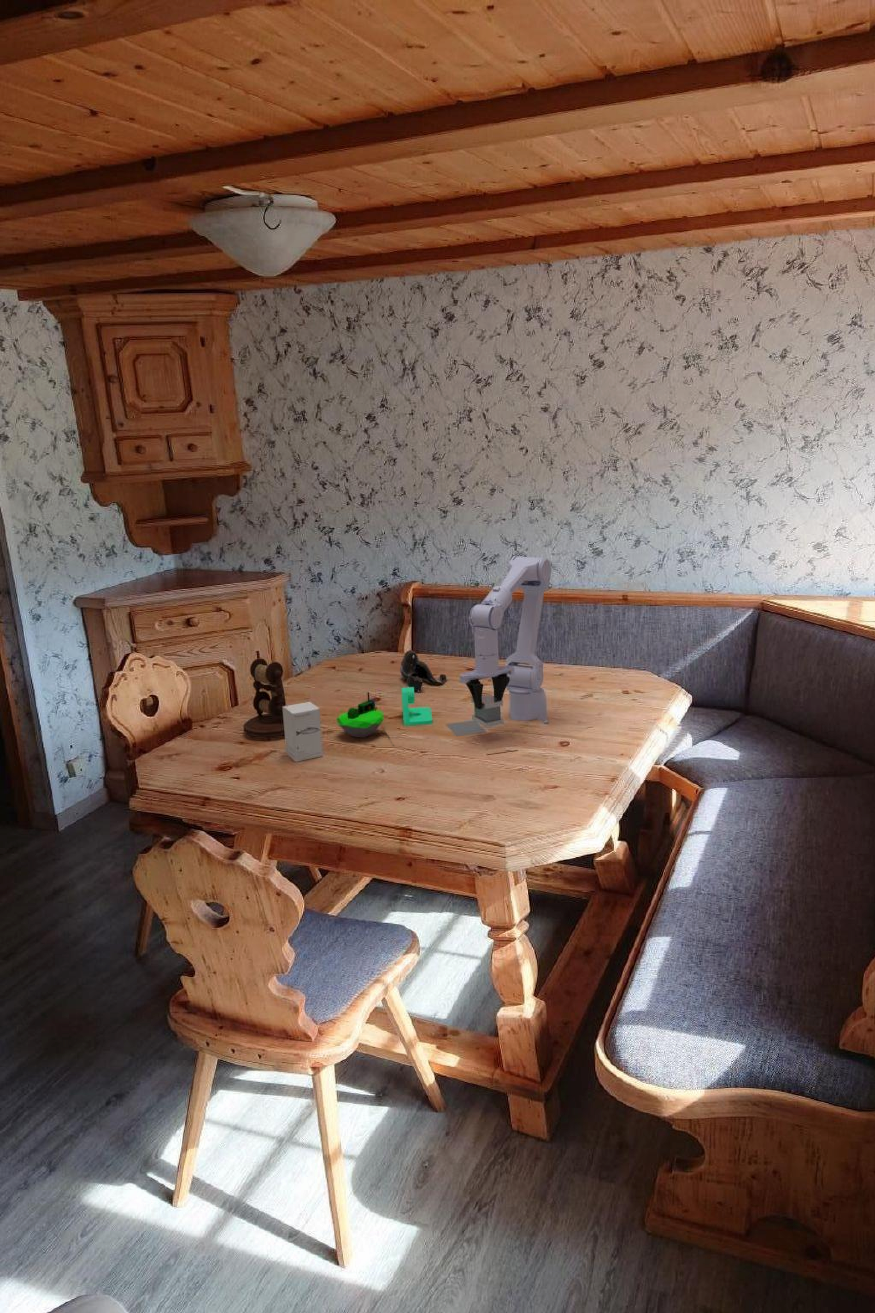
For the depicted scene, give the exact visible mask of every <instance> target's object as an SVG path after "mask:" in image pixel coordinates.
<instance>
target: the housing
mask: <svg viewBox="0 0 875 1313" xmlns="http://www.w3.org/2000/svg"><path fill="white" fill-rule="evenodd" d="M470 700H471V703H472V704H473V705H474V706H473V707H474V708H473V709H474V714H472V715H471V721H475V722H477V723H478V724H479V725H480V726H481V727H485V728H491V727H494V726H499V725H504V720H505V719H504V718H502V716H501V714H502V713H501V707H502V706H504V700H503V699H502V700H500V699H498V698H496V697H494V695H492V694H490V693H484V694H482V709H477V708H475V704H474V700H473V697H472V696H471V699H470Z"/></svg>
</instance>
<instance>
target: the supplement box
mask: <svg viewBox="0 0 875 1313" xmlns="http://www.w3.org/2000/svg"><path fill="white" fill-rule="evenodd" d="M282 708H283V720H284V731H285V734H284V743H285V753H286V755H287V756H289V757H290V759H292V760H293V761H294V762H295V763H298V762H300V761H306V760H311V759H314V758H316V759H317V758H322V757H323V756H324V750H323V739H322V738H323V737H322V726H321V724H322V723H321V722H322V721H321V711H320V710H321V709H320V707H318V706H317V705H315V704H314V703H313V702H311V701H305V702H301V703H294V704H289V705H286V706H283V707H282ZM321 756H322V757H321Z"/></svg>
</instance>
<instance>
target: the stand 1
mask: <svg viewBox="0 0 875 1313" xmlns="http://www.w3.org/2000/svg"><path fill="white" fill-rule="evenodd" d="M445 725H446V727H447V728H449V729H450V731H451V732H452V733H453V734H454V735H455V736H456V737H461V736H469V735H475V734H483V733H487V731H486V730H485V729H484V728H483V726H482V725H480V724H479V723H477V722H475V721H473V720H467V721H466V720H465V721H459V722H451V723H446V724H445Z"/></svg>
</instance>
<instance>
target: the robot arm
mask: <svg viewBox="0 0 875 1313" xmlns="http://www.w3.org/2000/svg"><path fill="white" fill-rule="evenodd" d="M507 570H508V573H507V574H506V576H505V577H504V579H503V580H502V582H501V584H500V585H496V586H493V588H492V589H491V590H490V592H489V593H488V594H486V596H485V598H484V599H483V601H481V603H479V604H476V605H474V606H472V607H471V610H470V613H469V617H468V623H469V626H470V627H471V634H472V635H473V637H474V656H475V658H474V659H475V660H474V663H475V669H474V670H470V671H467V672H464V673H460V674H459V682H460V683H462V684H465V685H466V686H467V689H468V690H469V692H470V694H471V697H473V700H474V703H473V705H474V704H475V708H477V709H482V695H483V689H484V684H483V683H481V680H485V679H490V678H491V681H492V687H493V688H492V689H493V696H494V697H496V698H498V699H500V700H502V701H503V698H504V693H505V691H506V690H507V691H509V694H508V696H509V718H510V719H511V720H513V721H518V722H528V721H533V720H537V719H538V720H539V721H541V723H543V724H548V723H549V721H548V720H547V717H548V716H547V714H548V713H547V710H548V709H547V707H548V706H547V694H546V692H545V690H544V688H543V687H542V685H543V683H544V663H543V662H542V660H541V659H540V658H539V657H538V656H537V655H536V647H537V641H538V634H539V627H540V622H541V621H540V620H541V613H542V608H543V602H544V601H543V600H544V595H545V594H544V593H545V592H547V591H549V588H550V585H551V584H550V583H551V577H552V566H551V562H550V560H549V558H548V557H546V556H543V557H536V556H535V557H533V556H519V555H514V556H512V558H511V559H510V561H509V562H508V569H507ZM517 589H520V590H521V591H522V592H523V601H522V607H521V615H520V622H519V628H518V634H517V642H516V649H515V652H514V653H512V654H510V655H509V656H508V657H507V658H506V660H505V665H500V664H499V662H500V661H499V660H500V659H499V632H498V629H499V628H500V627H501V626H502V622H503V617H504V616H505V614H504V613H505V611H506V610H507V608H508V607H509V606H510V605H511V603H512V601H513V594H514V592H516V591H517Z"/></svg>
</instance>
